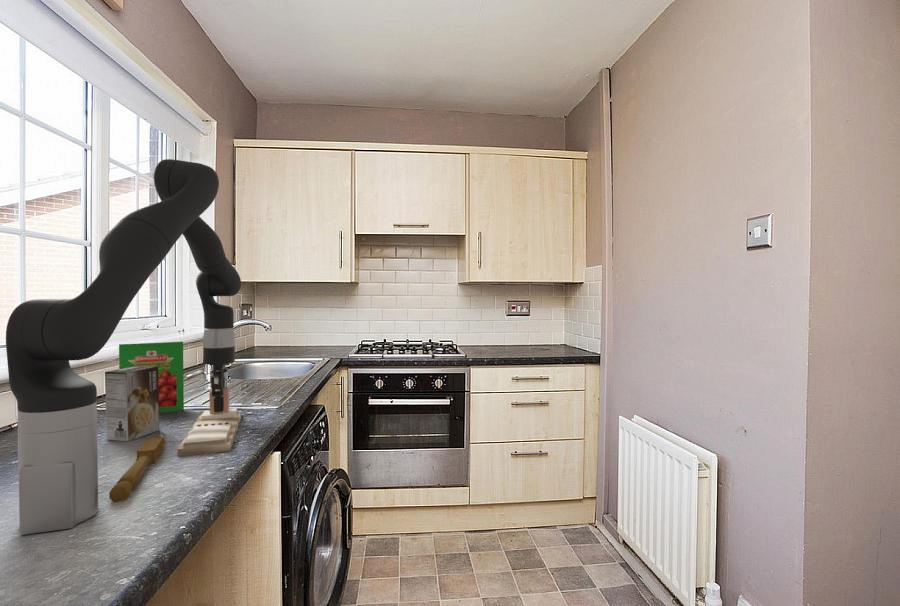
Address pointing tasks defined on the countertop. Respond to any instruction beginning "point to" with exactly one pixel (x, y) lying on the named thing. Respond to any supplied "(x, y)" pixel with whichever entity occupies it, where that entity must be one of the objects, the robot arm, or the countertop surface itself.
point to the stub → (217, 415)
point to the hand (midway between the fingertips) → (219, 409)
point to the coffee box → (132, 402)
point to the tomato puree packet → (159, 369)
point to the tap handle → (137, 468)
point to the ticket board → (210, 436)
